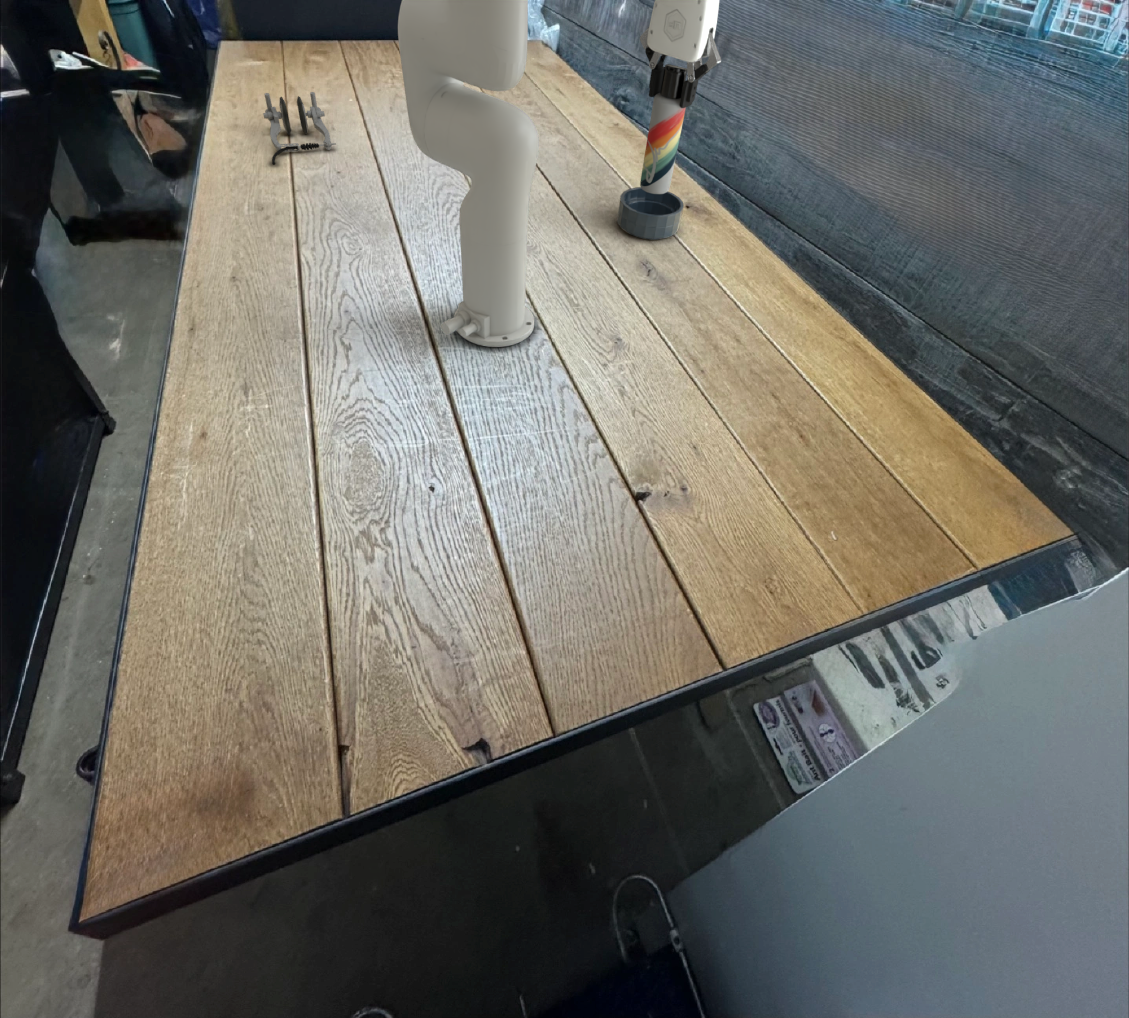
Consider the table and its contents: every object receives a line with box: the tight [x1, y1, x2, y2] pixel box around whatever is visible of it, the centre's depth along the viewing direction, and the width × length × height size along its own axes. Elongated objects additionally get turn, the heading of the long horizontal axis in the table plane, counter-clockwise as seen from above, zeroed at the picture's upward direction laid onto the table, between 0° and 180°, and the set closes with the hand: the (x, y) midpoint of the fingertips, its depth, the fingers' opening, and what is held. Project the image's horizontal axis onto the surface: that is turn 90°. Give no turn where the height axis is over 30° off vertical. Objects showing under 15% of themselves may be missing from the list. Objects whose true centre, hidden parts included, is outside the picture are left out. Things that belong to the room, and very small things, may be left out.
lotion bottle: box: [639, 63, 688, 194], centre depth 116 cm, size 6×6×20 cm
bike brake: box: [262, 91, 337, 166], centre depth 139 cm, size 14×7×20 cm
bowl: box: [616, 186, 684, 241], centre depth 127 cm, size 12×12×5 cm
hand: (670, 99), depth 112 cm, fingers closed on lotion bottle, 5 cm apart
